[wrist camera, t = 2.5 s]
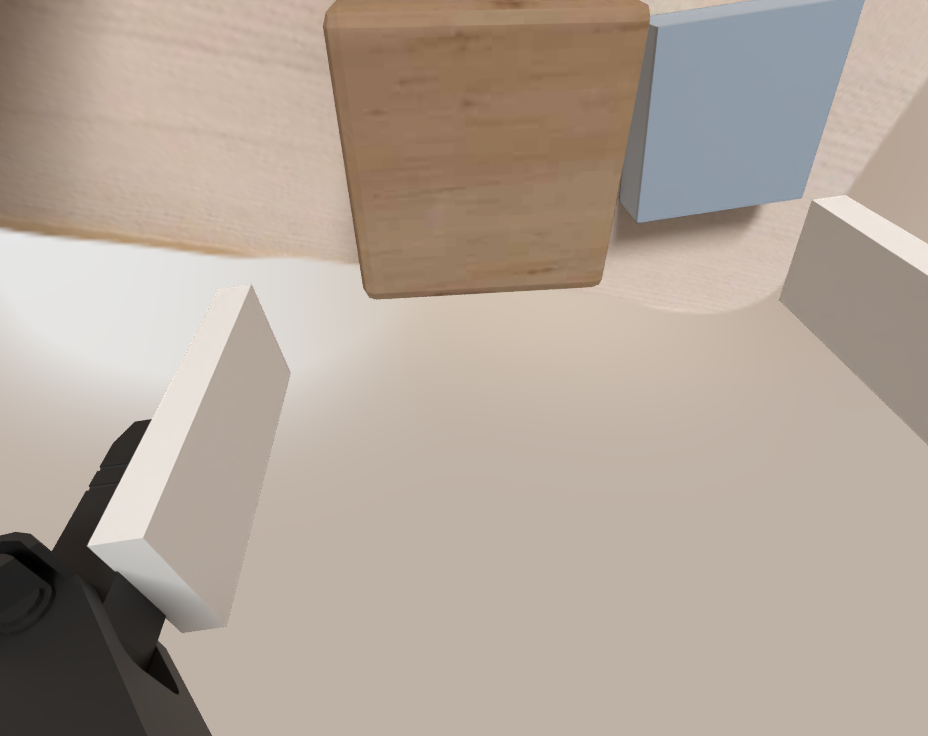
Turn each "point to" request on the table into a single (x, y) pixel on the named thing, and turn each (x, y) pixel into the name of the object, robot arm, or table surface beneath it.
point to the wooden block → (483, 138)
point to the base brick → (733, 104)
